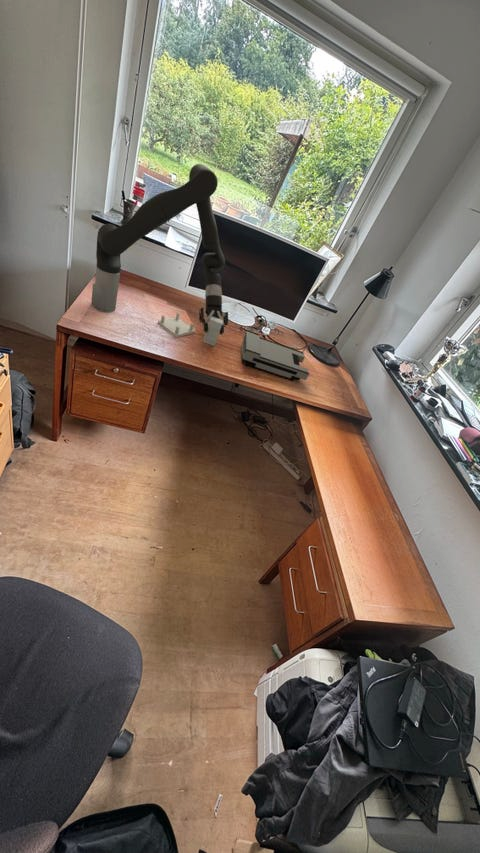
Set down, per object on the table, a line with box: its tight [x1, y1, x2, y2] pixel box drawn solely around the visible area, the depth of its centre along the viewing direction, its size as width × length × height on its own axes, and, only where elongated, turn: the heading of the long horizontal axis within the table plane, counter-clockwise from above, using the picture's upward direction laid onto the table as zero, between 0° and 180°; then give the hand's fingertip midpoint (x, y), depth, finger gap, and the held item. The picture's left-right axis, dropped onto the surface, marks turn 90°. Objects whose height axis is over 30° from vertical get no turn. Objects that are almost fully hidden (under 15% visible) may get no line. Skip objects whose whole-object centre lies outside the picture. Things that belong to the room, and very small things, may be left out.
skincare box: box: [202, 316, 223, 347], centre depth 158 cm, size 6×4×12 cm
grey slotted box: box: [241, 329, 310, 382], centre depth 166 cm, size 21×32×8 cm, turn 90°
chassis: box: [157, 312, 196, 338], centre depth 159 cm, size 12×12×4 cm
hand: (214, 333), depth 157 cm, fingers closed on skincare box, 7 cm apart
